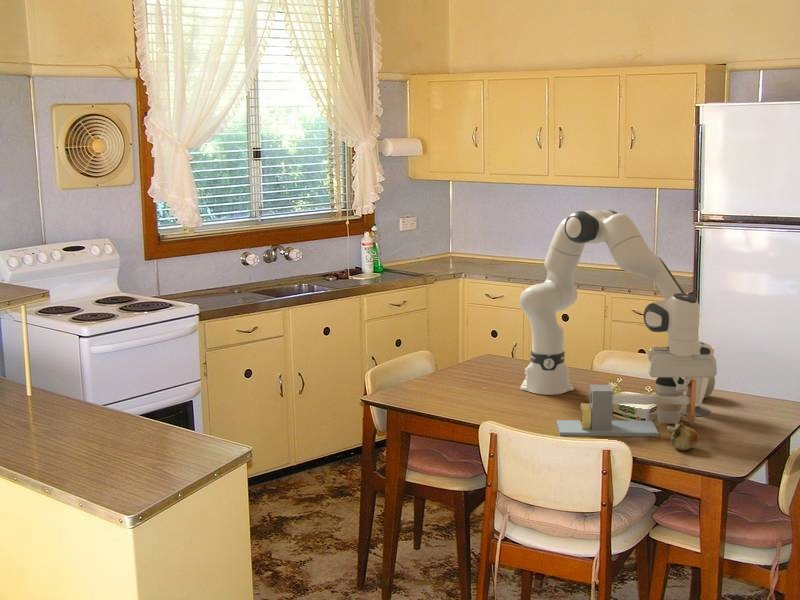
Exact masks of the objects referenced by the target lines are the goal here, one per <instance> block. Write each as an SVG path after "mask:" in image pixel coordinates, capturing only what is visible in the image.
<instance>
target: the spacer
mask: <svg viewBox="0 0 800 600" xmlns="http://www.w3.org/2000/svg"><path fill="white" fill-rule="evenodd" d="M579 414H580V415H579V420H580V425H581V428H582V429H590V423H591V407H590V403H585V402H581V403H580V413H579Z"/></svg>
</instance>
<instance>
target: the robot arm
mask: <svg viewBox="0 0 800 600" xmlns="http://www.w3.org/2000/svg"><path fill="white" fill-rule="evenodd" d="M599 243H605V244H606V245H607V247H608V250H609V252H610V254H611V256H612V258H613V260H614V262H615V263H616V265H617V266H618V267H619V268H620V269H621V270H623V271H625V272H627V273H630V274H634V275H638V276H642V277H645V278H647V279H649V280H650V281H652V282H653V283H654V284H655V285H656V287H657V288H658V290H659V291H660V293H661V295H662V296H663V298H664V299H663V300H658V301H654V302H651V303H649V304H648V305H646V307H645V309H644V311H643V322H644V325H645V326H646V327H647V329H648V330H650V332H653V333H654V332H655V333H663V332H665V333H667V335H668V341H667V346H661V347H659V346H653V348H651V349H649V350H648V351H647V352H648V353H647V358H648V360H649V361H648V365H647V366H648V367H647V373H648V375H649V376H650V377H651V378H658V377H673V380H674V382H675V384H676V391H687V385H688V384H689V383H690V381H691V377H699V378H713V377H716V375H717V372H718V370H717V360H716V357H715V356H714V355H713V354H715V348H714V347H713V346H711V345H710V344H709V343H706V342H702V341H700V340H699V334H698V332H699V331H698V330H699V326H700V305H699V301H698V299H697V298H696V297H695V296H694V295H691V294H688V293H685V292H684V290H683V289H682V287H681V285H680V284H679V283H678V281H677V280H676V278H675V276H674V275H673V274H672V272H671V271H670V270H669V268H668V267H667V265H666V263H665V262H664V261H663V260H662V258H660V257H659V256H658V255H656V253H654V252H653V250H652V249H651V248H650V247H649V245H647V244H648V243H646V241H645V240H644V238H643V235H642V234H641V232H640V230H639V229H638V227H637V226H636V224H635V223H634V221H633V220H632V219H631V217H630V216H629V215H628V214H626V213H622V212H617V211H614V210H611V209H606V210H605V209H589V210H580V211H575V212H573V213H570V214H569V215H568V216H567V217H565V218H564V219H563V220H561V222H560V223H559V224H558V227H557V228H556V230H555V233H554V234H553V237H552V239H551V242H550V245H549V248H548V251H547V253H546V256H545V259H544V263H543V265H544V267H545V270H546V271H547V274H546V279H545V280H544V282H541V283H536V284H532V285H531V286H529V287H526V288H525V289H523V291H522V292H521V293H520V296H519V298H518V300H519V301H518V302H519V307H520V309H521V311H522V312H523V313H524V314H525V315H526V316H527V318H528V320H529V323H530V327H531V351H530V356H529V357H530V363H529V364H528V366H527V367H525V368H524V375H526V376H525V377H524V379H523V382H522V384H521V385H520V390H521V391H526V392H530V393H533V394H537V395H546V396H547V395H550V396H551V395H561V394H565V393H567V392H570V391H574V390H575V388H574V385H572V384H571V383H570V374H569V371H570V370H569V369H570V367H568V365H567V364H566V363H565V361H566V359H565V358H566V355H565V353H566V352H565V351H564V340H565V339H564V337H565V332H564V329H563V327H562V325H561V326H560V324H559V323H558V320H557V314H556V313H558V312H559V311H560V312H561V311H564V310H566V309H568V308H569V307H571V306H573V305H574V304H575V303H576V301H577V299H578V291H577V287H576V285H575V274H576V270H577V268H578V265H579V262H580V258H581V256H582V253H583V252H584V251H583V250H584V248H585V246H586V244H599ZM712 347H713V348H714V349H713V348H712ZM679 377H685V380H686V381H685V382H684V384H678V382H677V381H679Z"/></svg>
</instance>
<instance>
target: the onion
mask: <svg viewBox="0 0 800 600" xmlns="http://www.w3.org/2000/svg"><path fill="white" fill-rule="evenodd" d="M666 428H667V430H668V431H669V432H672V433H671V435H670V442H671V444H672V446H673V447H674V448H676V449H677V450H679V451H687V450H690V449H693V448H694V447H696V444H697V443H698V439H699V435H698V433H697V431H696V430H695V429H693V428H691V427H690V426H685V425H684V423H683V422H680V421H679V422H678V423H675V426H674V427H672V426H669V425H667V427H666Z"/></svg>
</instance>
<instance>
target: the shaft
mask: <svg viewBox="0 0 800 600" xmlns="http://www.w3.org/2000/svg"><path fill="white" fill-rule="evenodd" d="M695 398H696V381H695V380H694V378H693V377H691V381H690V383H689V384H688V386H687V395H684V394H683V395H673V394H656V393H655V394H654V393H652V394H650V393H648V394H647V393H646V394H645V393H643V394H642V393H640V394H639V393H630V394H629V393H613V397H612V405H614V404H615V405H621V404H622V405H657V404H682V405H686V406H687V408H686V415H685V419H686V421H687V422H688V423H689V424H690V425H695V417H696V416H695Z"/></svg>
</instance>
